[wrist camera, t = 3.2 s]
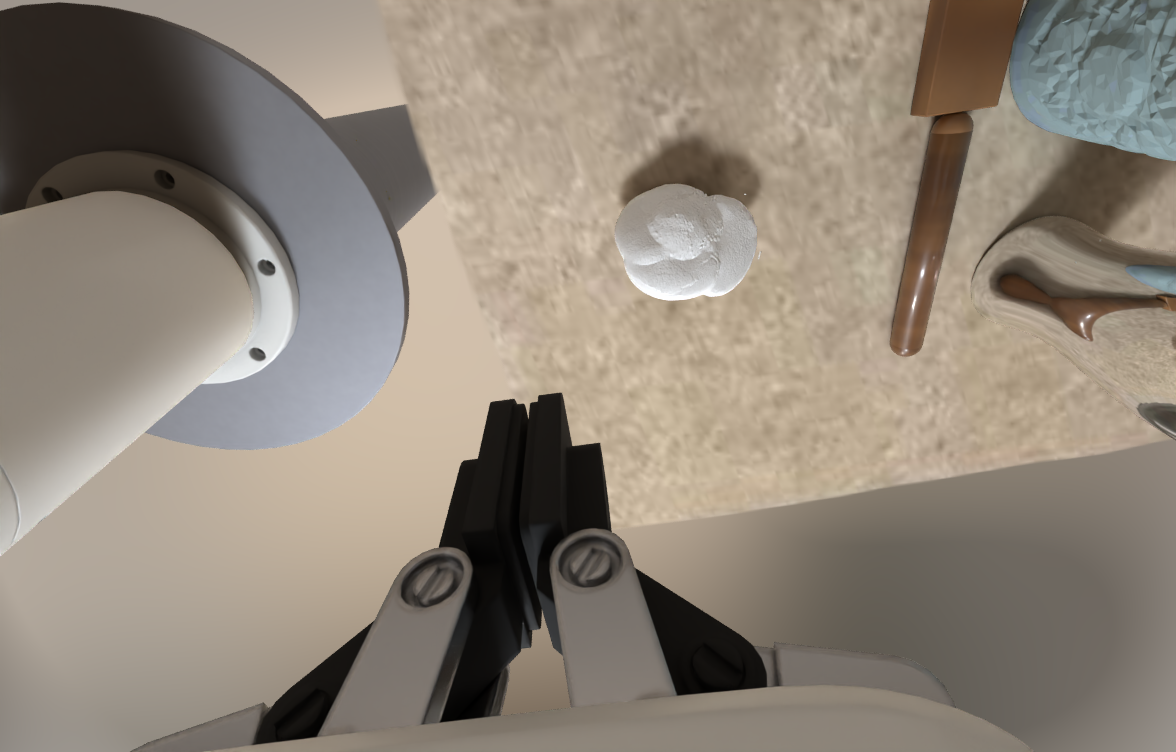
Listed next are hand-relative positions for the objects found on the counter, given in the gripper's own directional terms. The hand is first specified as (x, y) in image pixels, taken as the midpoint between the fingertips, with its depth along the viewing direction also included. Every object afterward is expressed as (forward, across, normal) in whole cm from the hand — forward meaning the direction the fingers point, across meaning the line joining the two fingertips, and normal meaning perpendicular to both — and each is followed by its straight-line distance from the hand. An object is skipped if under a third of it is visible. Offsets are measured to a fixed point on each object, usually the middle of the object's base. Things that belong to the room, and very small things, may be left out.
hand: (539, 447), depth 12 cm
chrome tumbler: (+16, -26, +5) cm, 31 cm away
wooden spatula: (+16, -19, 0) cm, 25 cm away
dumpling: (+16, -7, 0) cm, 18 cm away
